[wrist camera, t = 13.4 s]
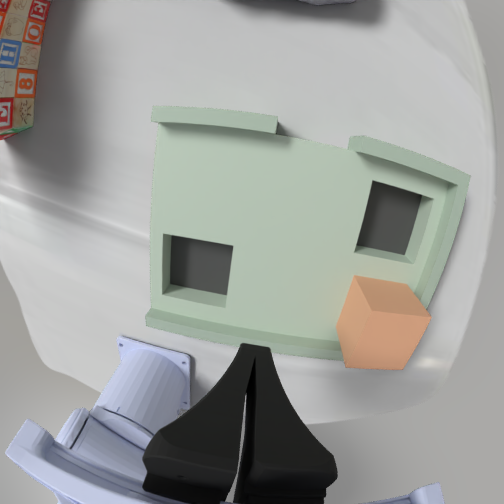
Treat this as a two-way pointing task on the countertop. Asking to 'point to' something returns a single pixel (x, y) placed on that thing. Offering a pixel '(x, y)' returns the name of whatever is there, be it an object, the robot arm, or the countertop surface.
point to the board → (286, 228)
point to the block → (380, 324)
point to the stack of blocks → (19, 61)
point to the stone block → (326, 1)
